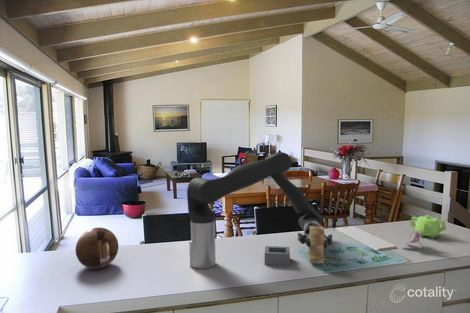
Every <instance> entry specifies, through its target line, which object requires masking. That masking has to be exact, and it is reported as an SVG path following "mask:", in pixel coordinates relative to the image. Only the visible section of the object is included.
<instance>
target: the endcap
mask: <svg viewBox="0 0 470 313" xmlns="http://www.w3.org/2000/svg"><path fill="white" fill-rule="evenodd" d="M290 251H291V250H290V246H277V245H276V246H275V245H274V246H273V245H265V246H264V266H277V267H279V266H280V267H290V266H291V265H290V264H291V262H290V261H291V260H290V259H291V254H290V253H291V252H290Z"/></svg>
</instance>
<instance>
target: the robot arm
mask: <svg viewBox="0 0 470 313" xmlns="http://www.w3.org/2000/svg"><path fill="white" fill-rule="evenodd" d="M292 164H293V162H292V158H291V155H289V154H287V153H286V152H283V151H282V152H276V153H273V154H270V155H268V156H266V157H265V158H264V159H263V160H262V159H261V160H256V161H252V162H248V163H244V164H240V165H238V166H236V167H234V168H232V169H231V170H230V171H229V172H228V174H226V175H224V176H222V177H217V178H213V179H210V178H203V177H194V178H193V179H191V180H190V181H189V183H188V185H187V189H186V197H187V198H186V199H187V212H188V215H189V217H190V241H189V266H190V268H191V267H193V268H195V269H200V270H205V269H206V270H207V269H209V268H212V267H214V266H216V259H217V258H216V214H215V212H214V211H213V210H212V208H211V207H210V205H211V204H212V203H215V202H217V201H219V200H221V199H222V198H224V197H226V196H228V195H230V194H232V193H235V192H237V191H241V190H243V189H245V188H248V187H251V186H253V185H255V184H257V183H260V182H262V181H263V180H265V179H267V178H270V177H271V179H272V180H273V181H274V182H275V183H276V185H277V186H278V187H279V188H280V190H281V191H282V192H283V193H284V195H285V196H286V198H287V199H288V200H289V203H290V204H291V206H292V207H293V209H294V211H295V213H297V214H302V213H305V214H304V215H302V216H300V217H299V219H298V225H299V227H300V228H301V230H303V234H302V233H300V232H298V233H297V241H298V242H300V244H301V245H304V244H305V246H306V247H308V248H310V247H311V242H310V226H320V227H322V226H321V224H322V223H323V218H322V215H321V214H320V213H319V212H318V211H317V210H316V209H314V208H313V206H311V204H310V203H309V201H308V200H307V198H306V196H305V195H304V193H303V191H302V190H301V189H300V188H299V187H298V186H296V185H295V184H294V183H293V182H291V181H290V179H288V178H287V177H286V176H285V173H287V172H288V171H289V170H290V169H291V167H292ZM332 243H333V234H328V235H326V234H325V233H324V249H327V248H328V246H331V245H332Z"/></svg>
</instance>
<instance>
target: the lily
mask: <svg viewBox="0 0 470 313" xmlns="http://www.w3.org/2000/svg"><path fill="white" fill-rule="evenodd" d="M421 231H422V230H421ZM421 231H420V232H421ZM420 232H419V231H418V232H417V233H416V232H415V234H414V235H412V234H411V235H409V237H411V241H409V242H406V245H409V244H415V243H419V244H420V245H421V247H422V249H423V250H424V251H426V249H425V247H424V245H422V244H423V243H421V242H420V237H419V234H420Z"/></svg>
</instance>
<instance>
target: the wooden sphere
mask: <svg viewBox="0 0 470 313" xmlns="http://www.w3.org/2000/svg"><path fill="white" fill-rule="evenodd" d="M118 252H119V241H118V238H117V237H116V235H115V234H114V232H113V231H111V230H110V229H108V228H105V227H93V228H90V229H87V230H86V231H84V233H82V235H80V237H79V238H78V240H77V242H76V244H75V255H76V258H77V260H78V261H79V263H80V264H81V265H82V266H84V267H86V268H88V269H91V270H97V269H98V270H99V269H103V268H105V267H107V266H108V265H110V264H111V263H112V262H113V261H115V259H116V257H117V255H118Z"/></svg>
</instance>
